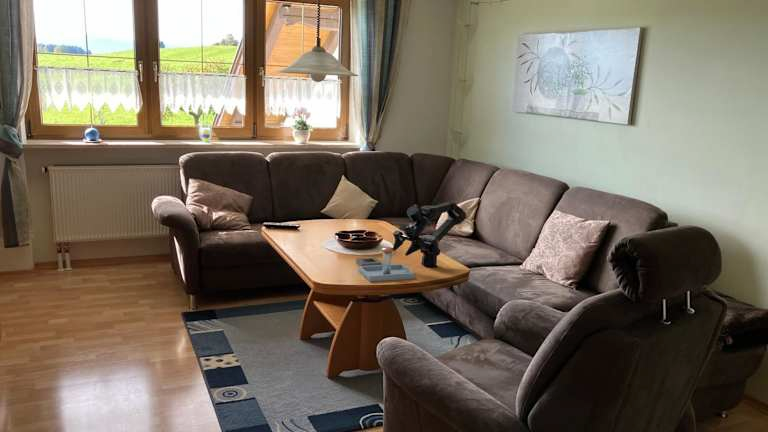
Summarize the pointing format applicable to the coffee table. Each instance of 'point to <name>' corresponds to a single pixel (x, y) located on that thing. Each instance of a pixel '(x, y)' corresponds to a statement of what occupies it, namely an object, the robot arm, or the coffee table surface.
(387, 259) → the pin
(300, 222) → the coffee table surface
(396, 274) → the tray
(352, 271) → the coffee table surface
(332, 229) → the coffee table surface
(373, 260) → the block
